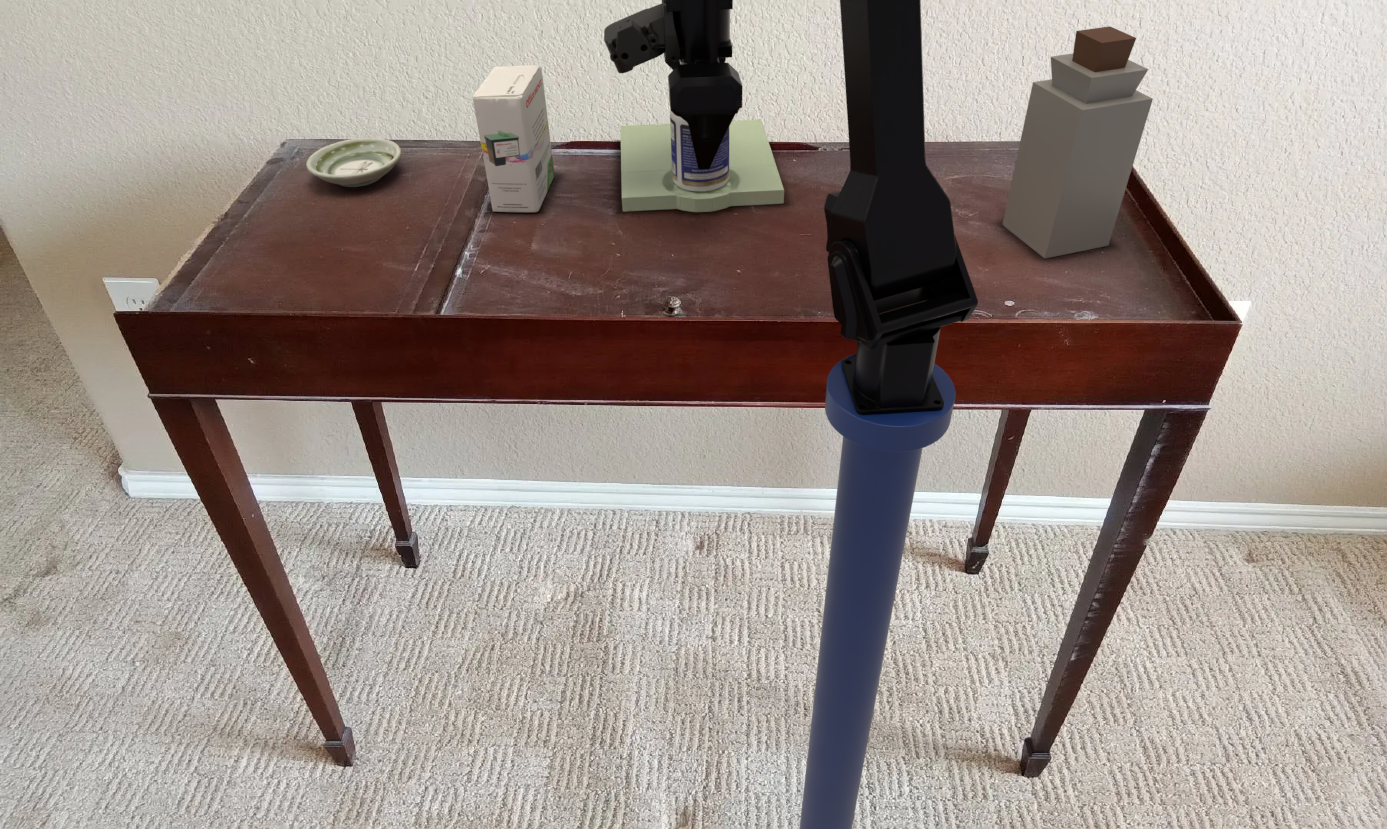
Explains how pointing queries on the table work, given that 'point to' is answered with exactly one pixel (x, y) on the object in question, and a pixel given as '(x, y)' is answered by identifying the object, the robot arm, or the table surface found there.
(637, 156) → the plate
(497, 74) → the ink box
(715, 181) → the pill bottle
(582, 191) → the table surface
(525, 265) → the table surface
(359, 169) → the saucer
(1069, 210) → the perfume bottle
